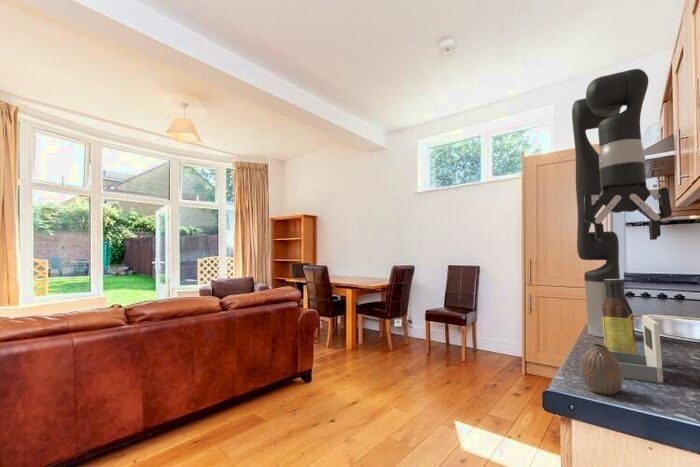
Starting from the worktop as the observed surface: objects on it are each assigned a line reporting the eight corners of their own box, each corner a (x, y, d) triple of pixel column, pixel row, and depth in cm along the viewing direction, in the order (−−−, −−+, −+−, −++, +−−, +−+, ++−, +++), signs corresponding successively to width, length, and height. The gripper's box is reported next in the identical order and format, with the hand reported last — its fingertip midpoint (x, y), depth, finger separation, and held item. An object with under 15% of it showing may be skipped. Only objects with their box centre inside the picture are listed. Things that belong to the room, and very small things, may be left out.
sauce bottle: (643, 363, 81) (637, 280, 82) (613, 362, 82) (608, 280, 83) (626, 355, 87) (621, 278, 88) (599, 354, 88) (594, 278, 89)
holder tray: (590, 361, 83) (587, 312, 83) (650, 368, 77) (646, 315, 78) (595, 374, 74) (592, 319, 75) (663, 383, 68) (658, 323, 69)
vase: (611, 401, 61) (607, 351, 61) (572, 387, 67) (570, 343, 68) (633, 394, 64) (629, 347, 64) (594, 381, 70) (591, 339, 71)
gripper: (660, 163, 71) (666, 239, 70) (579, 173, 79) (584, 242, 78) (671, 155, 65) (678, 238, 64) (582, 166, 72) (587, 241, 71)
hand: (626, 240), depth 71 cm, fingers open, 8 cm apart
